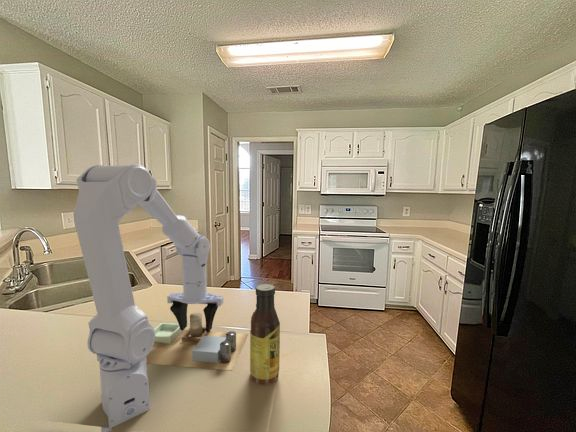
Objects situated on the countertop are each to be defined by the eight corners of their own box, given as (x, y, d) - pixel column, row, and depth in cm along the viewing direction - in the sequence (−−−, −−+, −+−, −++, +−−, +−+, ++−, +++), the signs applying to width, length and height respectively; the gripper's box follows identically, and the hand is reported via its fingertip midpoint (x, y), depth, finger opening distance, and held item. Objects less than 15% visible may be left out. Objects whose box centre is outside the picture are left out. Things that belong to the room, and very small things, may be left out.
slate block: (226, 346, 63) (226, 337, 63) (217, 362, 57) (217, 352, 57) (203, 345, 64) (203, 335, 63) (192, 361, 58) (192, 350, 57)
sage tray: (183, 330, 70) (183, 324, 70) (170, 344, 64) (170, 337, 64) (161, 328, 71) (161, 322, 71) (146, 342, 65) (146, 335, 64)
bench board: (248, 336, 69) (248, 329, 69) (232, 373, 55) (232, 365, 55) (162, 330, 71) (161, 324, 71) (125, 364, 57) (125, 356, 57)
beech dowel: (204, 336, 67) (203, 315, 67) (192, 341, 65) (192, 319, 65) (200, 331, 69) (199, 311, 69) (189, 335, 68) (188, 314, 67)
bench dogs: (237, 346, 63) (237, 331, 63) (229, 364, 57) (228, 347, 56) (228, 346, 63) (227, 331, 63) (218, 363, 57) (218, 346, 57)
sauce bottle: (275, 391, 50) (275, 295, 48) (245, 385, 52) (244, 292, 50) (282, 368, 57) (283, 283, 55) (256, 364, 58) (255, 280, 56)
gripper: (227, 275, 69) (227, 323, 70) (176, 273, 70) (178, 319, 72) (217, 285, 62) (218, 337, 63) (161, 282, 63) (163, 333, 65)
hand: (196, 329), depth 67 cm, fingers open, 6 cm apart
